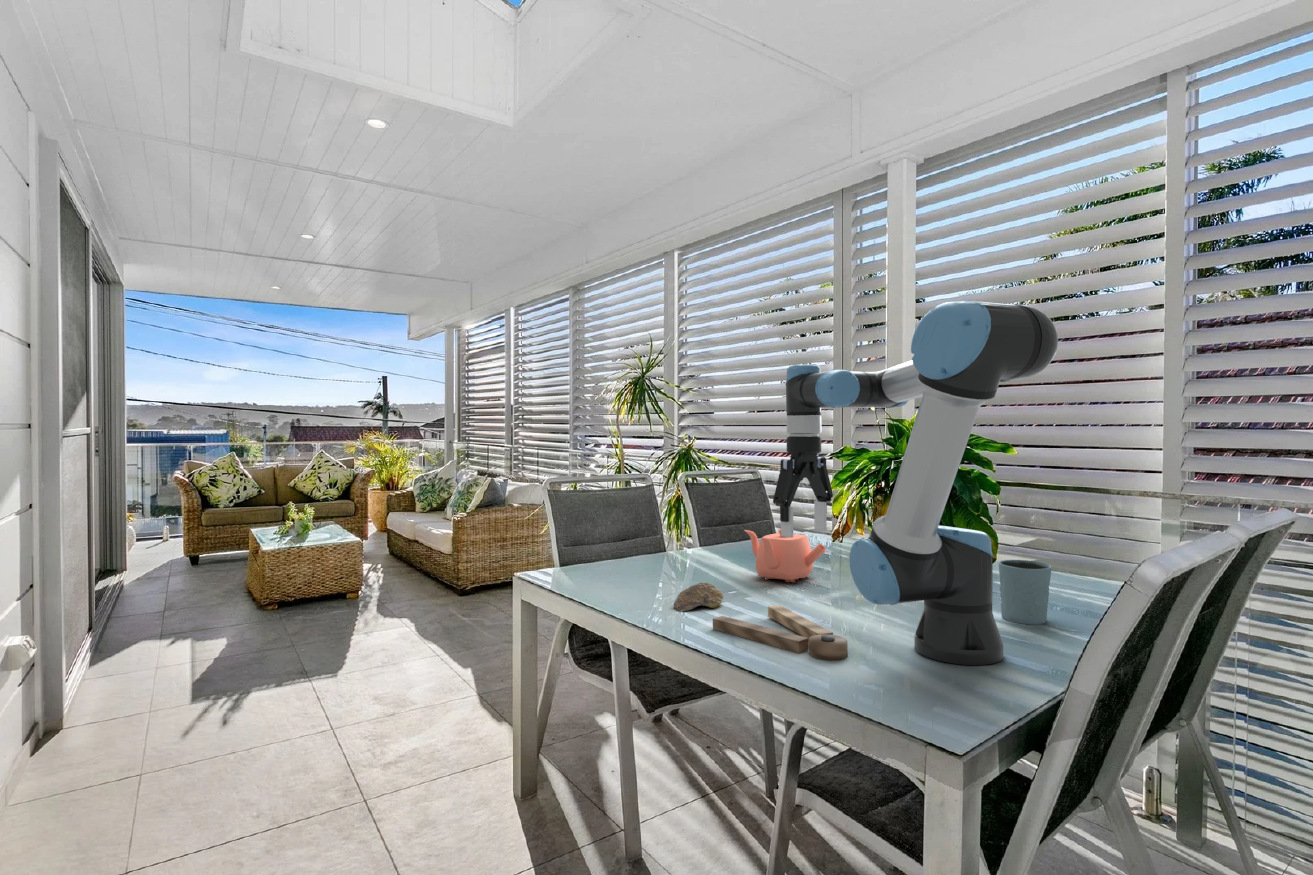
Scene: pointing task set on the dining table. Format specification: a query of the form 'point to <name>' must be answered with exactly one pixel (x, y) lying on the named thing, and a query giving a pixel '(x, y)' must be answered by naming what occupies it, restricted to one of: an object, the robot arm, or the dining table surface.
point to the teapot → (784, 556)
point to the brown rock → (698, 597)
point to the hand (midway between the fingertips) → (804, 533)
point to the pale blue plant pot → (1024, 591)
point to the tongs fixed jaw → (786, 639)
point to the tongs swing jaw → (796, 622)
